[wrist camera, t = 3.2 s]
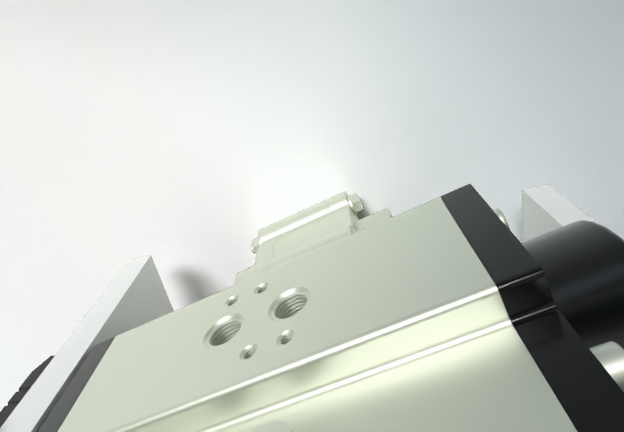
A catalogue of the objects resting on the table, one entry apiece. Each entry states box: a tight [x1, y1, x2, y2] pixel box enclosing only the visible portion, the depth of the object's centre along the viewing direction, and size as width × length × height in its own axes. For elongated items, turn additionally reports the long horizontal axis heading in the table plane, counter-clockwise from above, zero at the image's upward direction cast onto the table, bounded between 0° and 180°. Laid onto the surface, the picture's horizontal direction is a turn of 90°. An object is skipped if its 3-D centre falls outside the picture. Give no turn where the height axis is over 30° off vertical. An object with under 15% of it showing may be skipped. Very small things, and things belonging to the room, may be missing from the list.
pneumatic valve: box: [38, 184, 624, 432], centre depth 10 cm, size 6×12×12 cm, turn 117°
